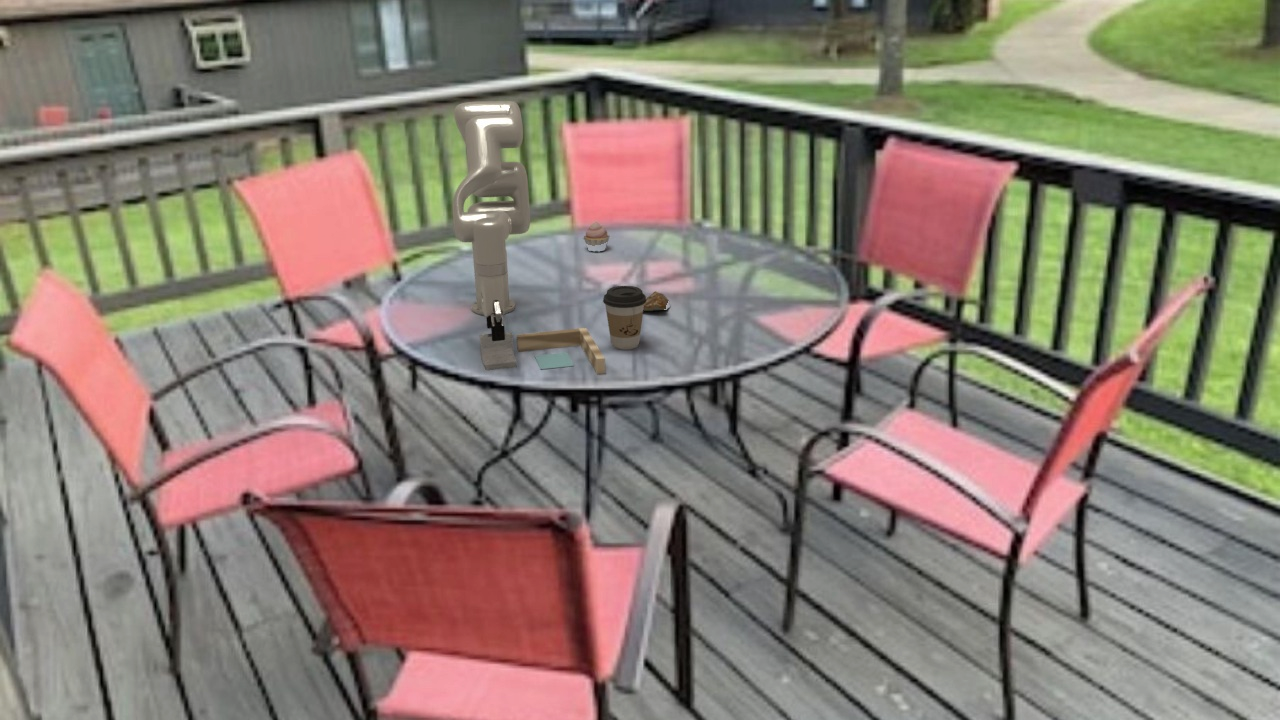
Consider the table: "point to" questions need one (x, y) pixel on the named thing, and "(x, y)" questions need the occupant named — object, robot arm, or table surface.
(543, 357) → the teal square plate
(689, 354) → the table surface
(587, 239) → the cupcake
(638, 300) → the coffee cup
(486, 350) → the bracket
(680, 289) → the table surface
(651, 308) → the pie slice
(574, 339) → the wooden l-shaped piece
